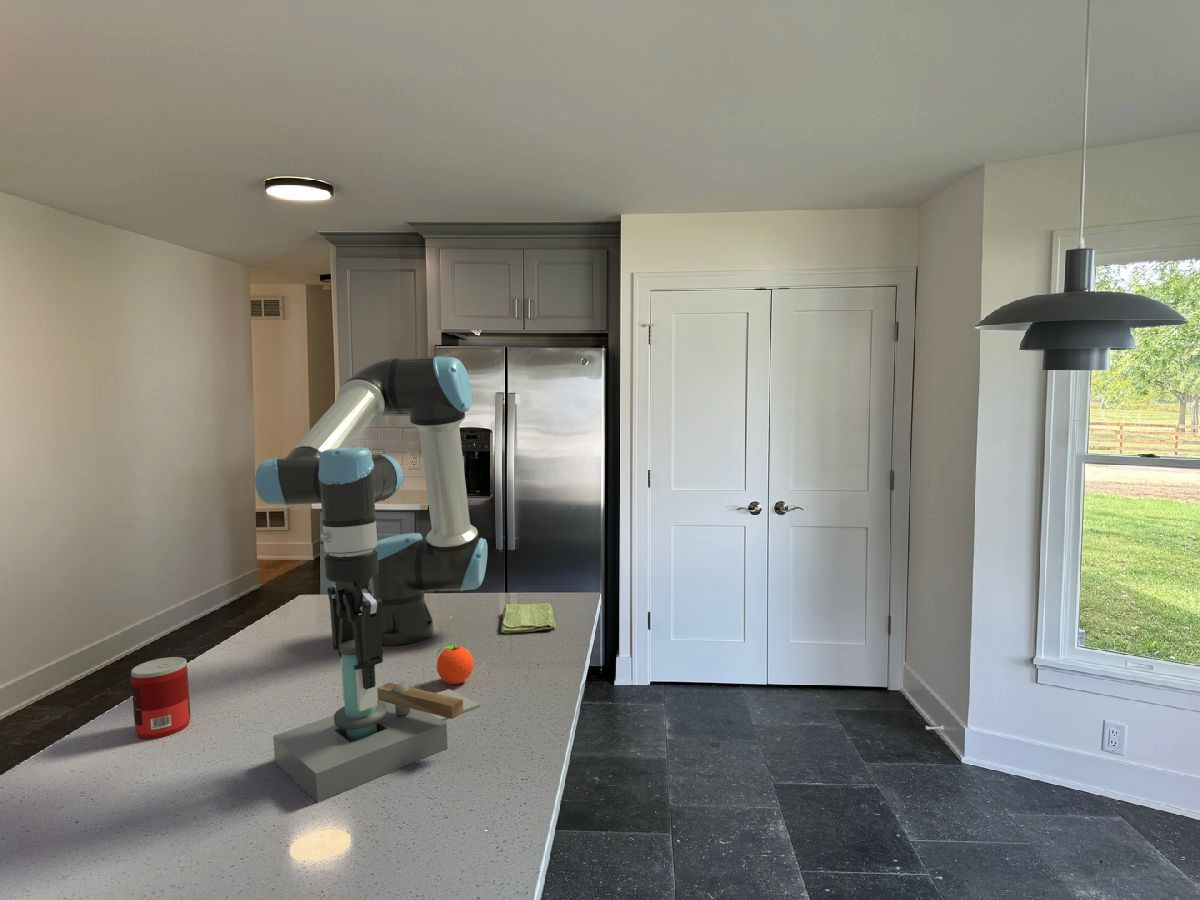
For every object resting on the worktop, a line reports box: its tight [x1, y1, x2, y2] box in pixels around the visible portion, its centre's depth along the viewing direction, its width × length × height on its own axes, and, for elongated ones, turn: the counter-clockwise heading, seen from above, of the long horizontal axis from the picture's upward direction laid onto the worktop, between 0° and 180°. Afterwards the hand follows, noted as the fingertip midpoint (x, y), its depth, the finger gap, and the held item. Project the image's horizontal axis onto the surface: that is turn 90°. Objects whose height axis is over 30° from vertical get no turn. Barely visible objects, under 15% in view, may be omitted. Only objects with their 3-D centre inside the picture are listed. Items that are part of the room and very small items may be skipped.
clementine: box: [436, 645, 474, 685], centre depth 133 cm, size 8×7×7 cm
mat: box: [431, 688, 480, 721], centre depth 122 cm, size 10×10×1 cm
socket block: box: [272, 699, 448, 803], centre depth 105 cm, size 16×20×4 cm
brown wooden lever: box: [376, 682, 464, 720], centre depth 108 cm, size 2×16×4 cm, turn 60°
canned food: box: [130, 656, 192, 740], centre depth 116 cm, size 8×8×11 cm
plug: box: [333, 640, 387, 742], centre depth 105 cm, size 8×8×16 cm
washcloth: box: [500, 602, 557, 635], centre depth 169 cm, size 13×18×3 cm
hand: (360, 702), depth 105 cm, fingers closed on plug, 4 cm apart
